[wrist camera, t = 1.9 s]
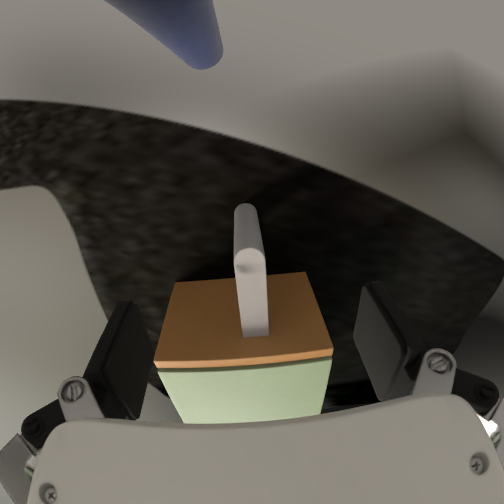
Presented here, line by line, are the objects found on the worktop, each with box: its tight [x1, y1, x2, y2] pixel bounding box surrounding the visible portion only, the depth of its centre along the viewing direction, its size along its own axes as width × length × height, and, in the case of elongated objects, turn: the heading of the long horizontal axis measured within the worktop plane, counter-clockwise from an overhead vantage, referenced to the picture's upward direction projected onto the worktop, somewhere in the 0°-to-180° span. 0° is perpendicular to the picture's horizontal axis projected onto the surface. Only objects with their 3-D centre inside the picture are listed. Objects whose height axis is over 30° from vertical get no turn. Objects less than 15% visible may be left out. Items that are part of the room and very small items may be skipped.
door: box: [154, 203, 333, 368], centre depth 22 cm, size 8×12×13 cm, turn 94°
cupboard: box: [158, 356, 332, 424], centre depth 26 cm, size 10×12×13 cm
